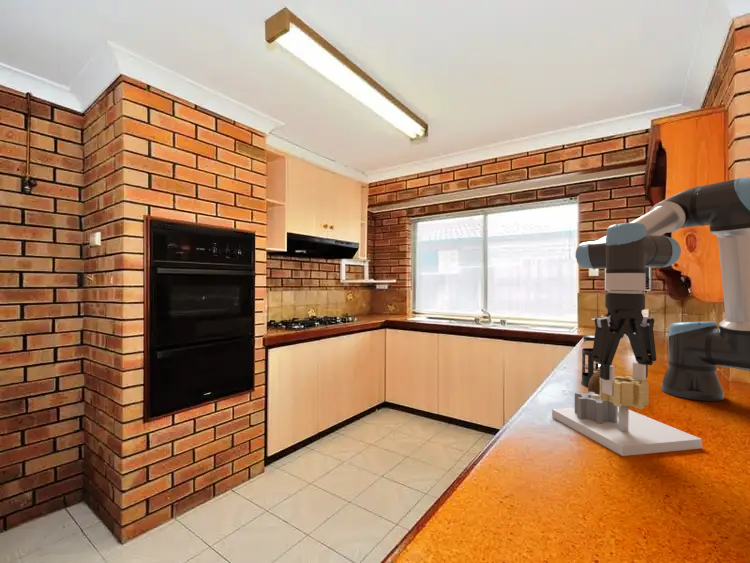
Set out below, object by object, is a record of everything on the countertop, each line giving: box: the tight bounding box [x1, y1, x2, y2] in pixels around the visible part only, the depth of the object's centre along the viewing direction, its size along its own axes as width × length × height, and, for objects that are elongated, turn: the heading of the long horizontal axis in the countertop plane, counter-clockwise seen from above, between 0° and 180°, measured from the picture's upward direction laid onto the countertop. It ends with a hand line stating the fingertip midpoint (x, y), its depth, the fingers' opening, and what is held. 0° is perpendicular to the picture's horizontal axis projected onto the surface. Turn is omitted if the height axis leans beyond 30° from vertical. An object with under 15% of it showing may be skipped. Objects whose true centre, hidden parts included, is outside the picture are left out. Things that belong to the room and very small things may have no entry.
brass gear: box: [600, 375, 650, 410], centre depth 84 cm, size 9×9×5 cm
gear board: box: [551, 391, 703, 457], centre depth 89 cm, size 20×22×8 cm
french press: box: [580, 317, 613, 388], centre depth 128 cm, size 12×9×23 cm
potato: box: [587, 371, 600, 395], centre depth 112 cm, size 8×12×9 cm
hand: (623, 392), depth 84 cm, fingers closed on brass gear, 7 cm apart
